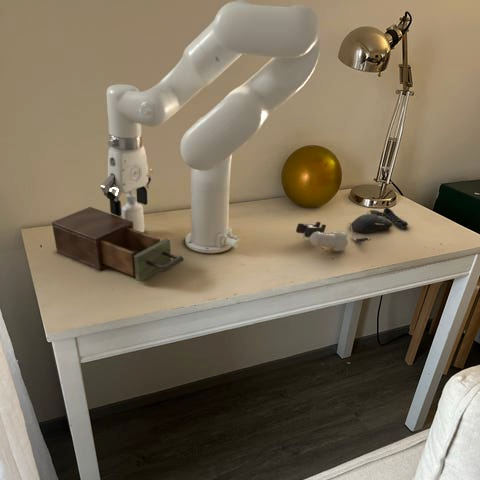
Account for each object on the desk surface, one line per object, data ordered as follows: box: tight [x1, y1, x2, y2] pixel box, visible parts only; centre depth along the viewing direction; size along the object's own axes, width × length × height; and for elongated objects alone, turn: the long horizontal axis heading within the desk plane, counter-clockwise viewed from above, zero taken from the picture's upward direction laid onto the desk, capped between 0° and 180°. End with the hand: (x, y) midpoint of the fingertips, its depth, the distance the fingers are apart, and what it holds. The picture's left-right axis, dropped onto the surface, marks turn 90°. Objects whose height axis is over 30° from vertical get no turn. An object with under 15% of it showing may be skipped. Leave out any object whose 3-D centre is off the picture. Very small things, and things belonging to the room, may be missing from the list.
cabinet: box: [51, 206, 133, 271], centre depth 123 cm, size 15×12×8 cm
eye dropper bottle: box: [121, 190, 145, 233], centre depth 131 cm, size 4×6×12 cm
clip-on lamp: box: [295, 221, 371, 252], centre depth 133 cm, size 12×6×18 cm
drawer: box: [99, 227, 185, 283], centre depth 117 cm, size 19×11×6 cm, turn 57°
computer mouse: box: [349, 207, 409, 234], centre depth 147 cm, size 12×18×4 cm
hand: (129, 208), depth 131 cm, fingers open, 9 cm apart
